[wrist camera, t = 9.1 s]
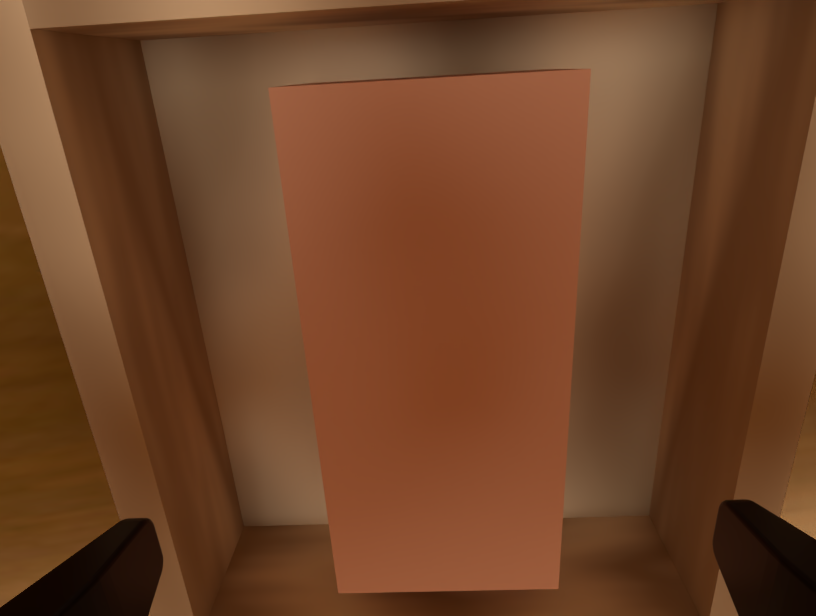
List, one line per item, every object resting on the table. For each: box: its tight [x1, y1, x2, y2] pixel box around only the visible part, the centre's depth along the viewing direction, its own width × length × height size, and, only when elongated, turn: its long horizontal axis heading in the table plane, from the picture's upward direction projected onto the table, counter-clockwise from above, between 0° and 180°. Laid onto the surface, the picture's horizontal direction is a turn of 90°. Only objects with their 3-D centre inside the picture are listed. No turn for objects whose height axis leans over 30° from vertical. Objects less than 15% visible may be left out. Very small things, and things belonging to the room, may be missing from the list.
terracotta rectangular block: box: [268, 69, 591, 593], centre depth 15 cm, size 6×13×4 cm, turn 3°
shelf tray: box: [0, 0, 816, 616], centre depth 15 cm, size 16×18×6 cm
